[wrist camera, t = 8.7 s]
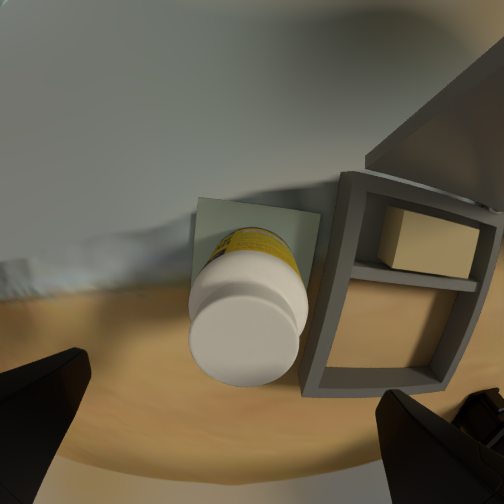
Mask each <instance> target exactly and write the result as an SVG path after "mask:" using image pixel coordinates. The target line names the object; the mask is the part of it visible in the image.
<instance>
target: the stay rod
mask: <svg viewBox="0 0 504 504" xmlns="http://www.w3.org/2000/svg"><path fill="white" fill-rule="evenodd" d="M482 208H484V209H486V210H489V211H492V212H494V213H497V214H500V215H502V216H504V212H501V211H499V210H496V209H494V208H491V207H489V206H486V205H483V204H482Z"/></svg>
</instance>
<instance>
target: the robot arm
mask: <svg viewBox="0 0 504 504" xmlns="http://www.w3.org/2000/svg"><path fill="white" fill-rule="evenodd" d="M90 379H91V367H90V362H89V357H88V353H87V352H86V351H85V350H83V349H80V348H77V347H74V348H71V349H68V350H65V351H62V352H60V353H57V354H54V355H51V356H49V357H46V358H43V359H40V360H37V361H35V362H32V363H29V364H26V365H23V366H20V367H17V368H14V369H11V370H9V371H6V372H3V373H0V504H33V502H34V499H35V497H36V495H37V492H38V490H39V488H40V486H41V483H42V481H43V479H44V477H45V475H46V473H47V470H48V468H49V466H50V464H51V462H52V460H53V458H54V456H55V454H56V452H57V450H58V448H59V446H60V444H61V442H62V440H63V438H64V436H65V434H66V432H67V430H68V428H69V426H70V425H71V423H72V421H73V419H74V417H75V415H76V413H77V410H78V408H79V405H80V403H81V400H82V398H83V395H84V393H85V391H86V388H87V386H88V384H89V381H90ZM498 392H499V388H494V389H490V390H486V391H482V392H477V393H473V394H471V395H470V396H469V398H468V399H467V401H466V403H465V404H464V406H463V407H462V409H461V410H460V412H459V413H458V415H457V416H456V418H455V419H454V421H453V422H452V424H450V423H449V422H447V421H446V420H444V419H443V418H441V417H440V416H438V415H437V414H435V413H434V412H432V411H431V410H429V409H428V408H426V407H425V406H423V405H422V404H420V403H419V402H417V401H416V400H414V399H413V398H411V397H410V396H408V395H407V394H405V393H404V392H403V391H401V390H400V389H388V390H386V391H385V392H384V394H383V396H382V398H381V400H380V402H379V404H378V406H377V408H376V412H375V416H376V422H377V429H378V436H379V443H380V450H381V456H382V460H383V464H384V468H385V473H386V477H387V481H388V486H389V490H390V495H391V499H392V504H504V399H503V397H502V396H501V395H500V394H499V393H498Z"/></svg>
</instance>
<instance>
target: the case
mask: <svg viewBox="0 0 504 504" xmlns="http://www.w3.org/2000/svg"><path fill="white" fill-rule="evenodd" d="M503 230H504V216H502V215H500V214H497V213H494V212H492V211H489V210H486V209H484V208H481V207H478V206H476V205H473V204H470V203H467V202H464V201H461V200H458V199H455V198H452V197H449V196H446V195H443V194H439V193H436V192H433V191H430V190H426V189H423V188H419V187H416V186H412V185H409V184H405V183H401V182H397V181H394V180H390V179H386V178H382V177H377V176H373V175H369V174H365V173H360V172H356V171H347V172H341V174H340V181H339V188H338V194H337V201H336V207H335V213H334V219H333V225H332V230H331V236H330V241H329V246H328V252H327V257H326V262H325V267H324V271H323V276H322V281H321V285H320V290H319V294H318V299H317V303H316V307H315V312H314V316H313V320H312V324H311V328H310V332H309V336H308V340H307V344H306V348H305V351H304V355H303V359H302V362H301V366H300V370H299V373H298V378H299V384H300V390H301V396H302V397H312V398H368V397H382V396H383V394H384V392H385V391H386V390H388V389H400V390H401V391H403V392H404V393H405V394H407V395H413V394H422V393H430V392H438V391H445V389H446V387H447V385H448V383H449V382H450V380H451V378H452V376H453V374H454V372H455V370H456V368H457V366H458V364H459V362H460V360H461V358H462V356H463V354H464V352H465V349H466V347H467V345H468V343H469V340H470V338H471V336H472V333H473V331H474V328H475V326H476V323H477V321H478V318H479V316H480V313H481V310H482V307H483V305H484V302H485V299H486V296H487V293H488V290H489V286H490V283H491V280H492V276H493V273H494V269H495V265H496V262H497V258H498V253H499V249H500V245H501V240H502V235H503ZM350 278H354V279H363V280H371V281H379V282H388V283H396V284H405V285H414V286H423V287H432V288H441V289H450V290H459V291H458V294H457V298H456V301H455V303H454V306H453V309H452V312H451V315H450V318H449V320H448V323H447V326H446V328H445V331H444V333H443V336H442V338H441V340H440V343H439V345H438V347H437V350H436V352H435V354H434V357H433V359H432V361H431V363H430V365H429V366H426V367H406V368H337V367H325V366H326V363H327V360H328V356H329V353H330V350H331V347H332V343H333V340H334V337H335V333H336V330H337V326H338V323H339V319H340V316H341V312H342V308H343V305H344V301H345V297H346V293H347V289H348V285H349V281H350Z"/></svg>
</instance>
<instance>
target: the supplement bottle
mask: <svg viewBox="0 0 504 504" xmlns="http://www.w3.org/2000/svg"><path fill="white" fill-rule="evenodd" d="M188 310H189V316H190V320H191V326H190V330H189V347H190V351H191V354H192V356H193V358H194V360H195V362H196V363H197V365H198V366H199V367H200V368H201V369H202V370H203V371H204V372H205V373H206V374H208V375H209V376H210V377H212V378H214V379H216V380H217V381H220V382H222V383H225V384H228V385H232V386H237V387H255V386H260V385H264V384H267V383H270V382H272V381H274V380H276V379H278V378H279V377H281V376H282V375H283V374H284V373H286V372H287V371H288V369H289V368H290V367H291V366H292V364H293V363H294V361H295V359H296V357H297V353H298V349H299V336H300V335H301V333H302V331H303V329H304V327H305V324H306V320H307V316H308V300H307V294H306V290H305V287H304V284H303V281H302V279H301V276H300V273H299V270H298V268H297V265H296V262H295V259H294V256H293V254H292V252H291V250H290V248H289V246H288V245H287V243H286V242H285V241H284V240H283V239H282V238H281V237H280V236H279V235H278V234H276V233H275V232H273V231H271V230H269V229H266V228H262V227H243V228H240V229H237V230H235V231H233V232H231V233H229V234H228V235H227V236H226V237H224V238H223V239H222V240H221V241H220V243H219V244H218V245H217V247H216V248H215V250H214V252H213V253H212V255H211V256H210V258H209V259H208V261H207V262H206V264H205V265H204V267H203V268H202V270H201V271H200V273H199V274H198V276H197V277H196V280H195V282H194V284H193V286H192V289H191V292H190V296H189V303H188Z"/></svg>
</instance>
